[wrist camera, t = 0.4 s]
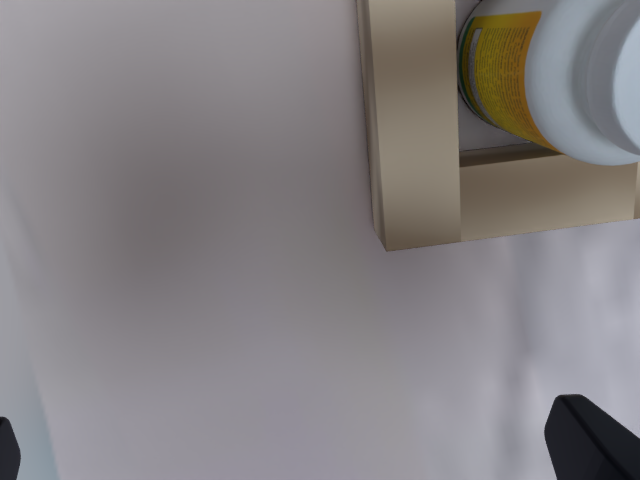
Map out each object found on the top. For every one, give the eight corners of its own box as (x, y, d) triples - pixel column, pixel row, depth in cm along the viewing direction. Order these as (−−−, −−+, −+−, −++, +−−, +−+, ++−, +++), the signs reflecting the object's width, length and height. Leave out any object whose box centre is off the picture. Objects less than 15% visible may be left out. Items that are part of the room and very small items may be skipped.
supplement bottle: (525, -56, 20) (734, -131, 11) (619, 49, 22) (868, 56, 13) (420, 66, 21) (535, 86, 12) (516, 158, 23) (681, 235, 14)
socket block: (661, 192, 24) (704, 209, 22) (374, 230, 23) (386, 251, 21) (693, -145, 20) (750, -169, 18) (347, -110, 19) (359, -131, 17)
